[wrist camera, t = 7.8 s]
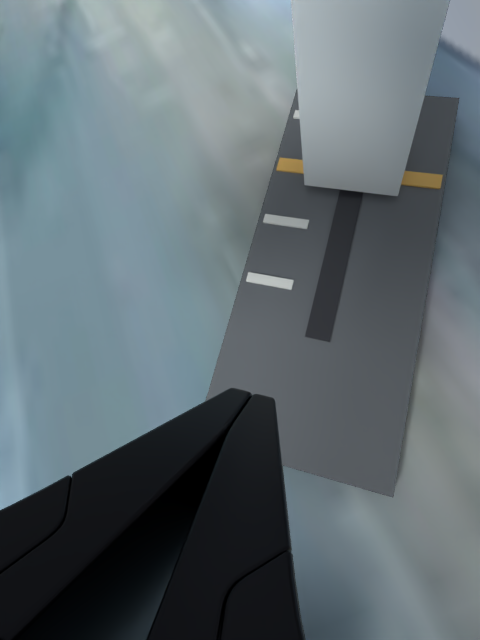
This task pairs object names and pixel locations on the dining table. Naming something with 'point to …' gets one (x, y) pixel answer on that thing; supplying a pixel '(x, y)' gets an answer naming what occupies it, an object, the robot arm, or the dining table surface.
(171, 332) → the dining table surface
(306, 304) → the console
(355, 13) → the fader tab
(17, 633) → the robot arm
